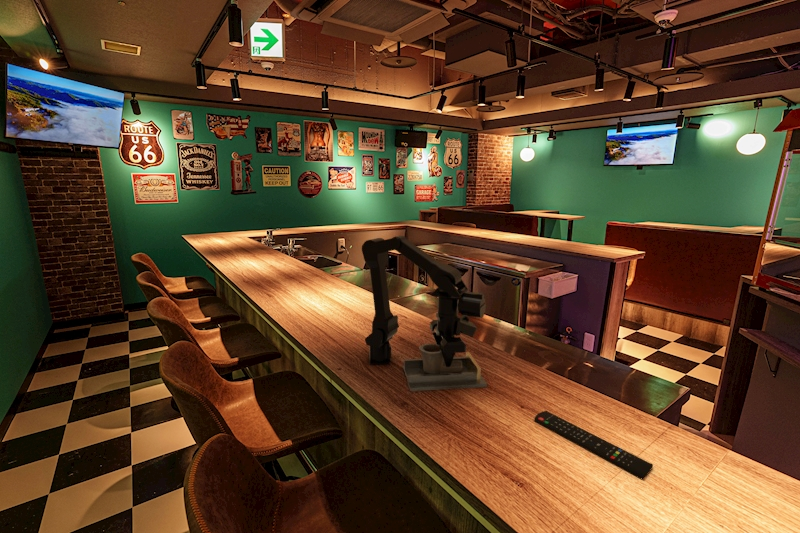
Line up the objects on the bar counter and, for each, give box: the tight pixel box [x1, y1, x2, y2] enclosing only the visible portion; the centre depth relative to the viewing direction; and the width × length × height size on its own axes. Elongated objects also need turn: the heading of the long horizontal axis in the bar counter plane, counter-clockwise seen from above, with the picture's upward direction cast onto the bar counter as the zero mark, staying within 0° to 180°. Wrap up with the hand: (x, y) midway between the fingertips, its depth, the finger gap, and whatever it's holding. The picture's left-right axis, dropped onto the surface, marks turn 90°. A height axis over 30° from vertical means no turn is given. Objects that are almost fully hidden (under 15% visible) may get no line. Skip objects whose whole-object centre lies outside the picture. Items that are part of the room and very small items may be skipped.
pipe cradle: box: [402, 351, 488, 392], centre depth 111 cm, size 22×14×5 cm, turn 97°
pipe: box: [418, 343, 462, 374], centre depth 110 cm, size 6×13×8 cm, turn 82°
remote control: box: [534, 410, 654, 480], centre depth 83 cm, size 5×24×1 cm, turn 39°
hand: (445, 362), depth 110 cm, fingers open, 5 cm apart
